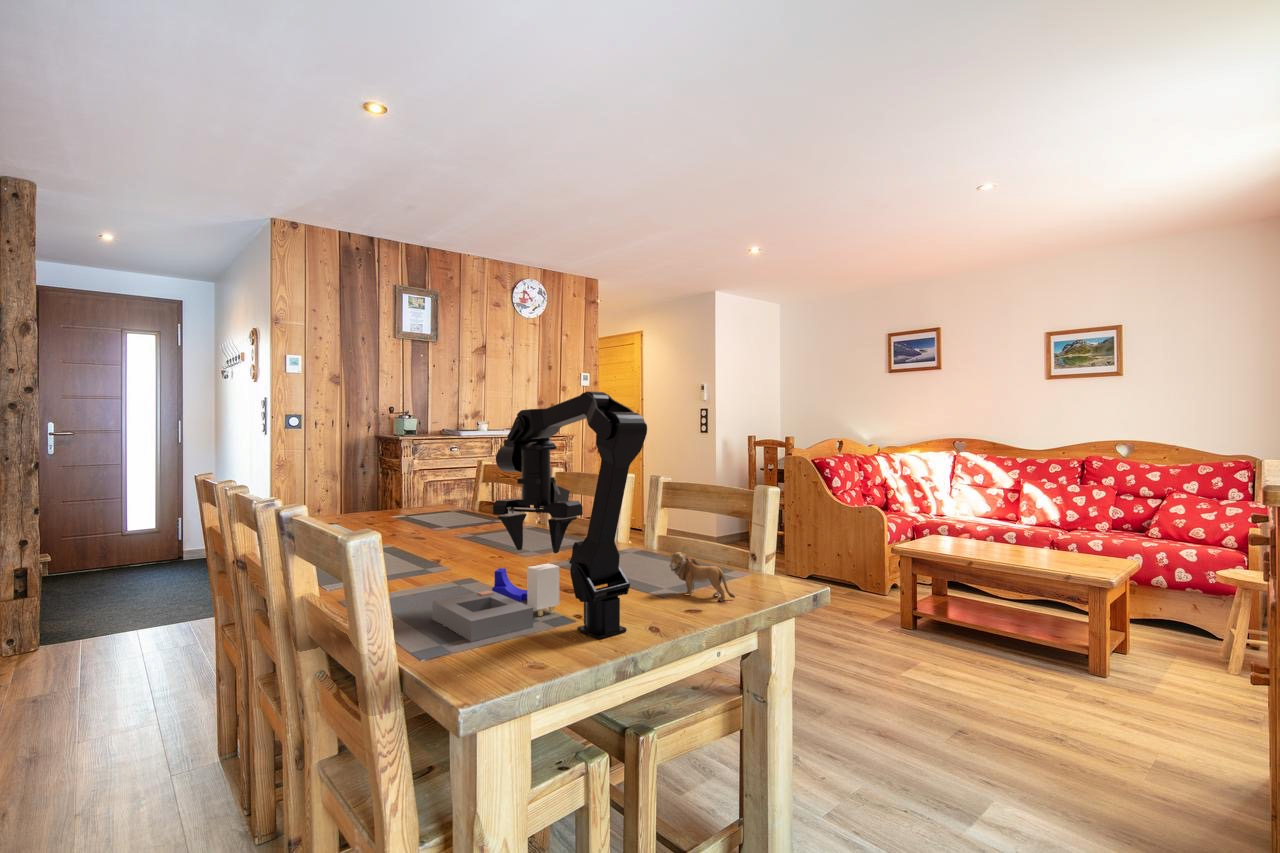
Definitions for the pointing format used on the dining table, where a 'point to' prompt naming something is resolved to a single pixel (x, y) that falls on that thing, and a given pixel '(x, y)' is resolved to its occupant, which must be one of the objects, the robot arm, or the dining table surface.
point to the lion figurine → (697, 574)
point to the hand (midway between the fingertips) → (537, 551)
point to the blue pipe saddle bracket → (507, 586)
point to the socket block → (482, 615)
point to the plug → (543, 587)
